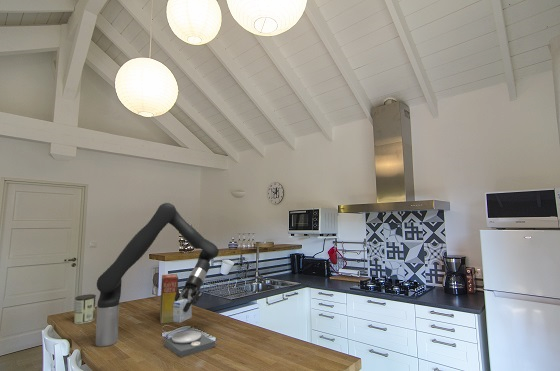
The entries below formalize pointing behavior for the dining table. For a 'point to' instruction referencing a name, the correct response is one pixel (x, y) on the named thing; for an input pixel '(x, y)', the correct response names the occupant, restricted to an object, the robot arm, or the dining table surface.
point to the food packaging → (168, 297)
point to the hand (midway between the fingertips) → (180, 310)
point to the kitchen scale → (188, 343)
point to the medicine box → (181, 311)
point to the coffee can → (84, 309)
